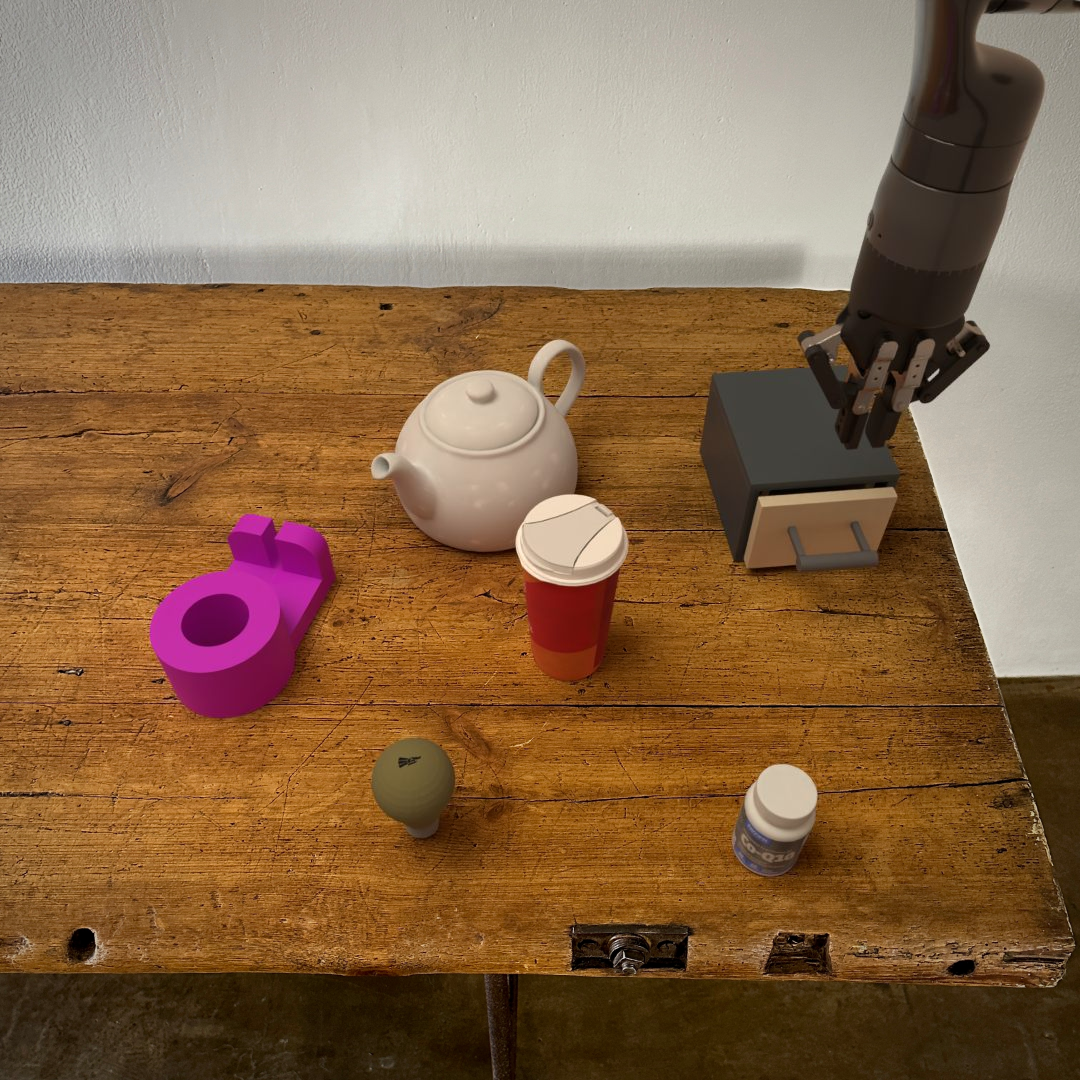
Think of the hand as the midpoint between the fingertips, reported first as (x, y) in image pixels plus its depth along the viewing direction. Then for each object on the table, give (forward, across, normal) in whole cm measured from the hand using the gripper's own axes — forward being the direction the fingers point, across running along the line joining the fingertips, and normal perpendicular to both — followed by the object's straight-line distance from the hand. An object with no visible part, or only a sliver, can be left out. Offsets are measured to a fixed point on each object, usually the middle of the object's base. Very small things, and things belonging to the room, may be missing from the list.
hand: (860, 440), depth 73 cm
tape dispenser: (+17, -49, -1) cm, 52 cm away
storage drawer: (+16, 0, +6) cm, 17 cm away
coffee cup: (+17, -22, -5) cm, 29 cm away
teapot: (+17, -28, +14) cm, 36 cm away
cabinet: (+17, 0, +11) cm, 20 cm away
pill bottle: (+17, -10, -23) cm, 31 cm away
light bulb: (+17, -35, -20) cm, 43 cm away
